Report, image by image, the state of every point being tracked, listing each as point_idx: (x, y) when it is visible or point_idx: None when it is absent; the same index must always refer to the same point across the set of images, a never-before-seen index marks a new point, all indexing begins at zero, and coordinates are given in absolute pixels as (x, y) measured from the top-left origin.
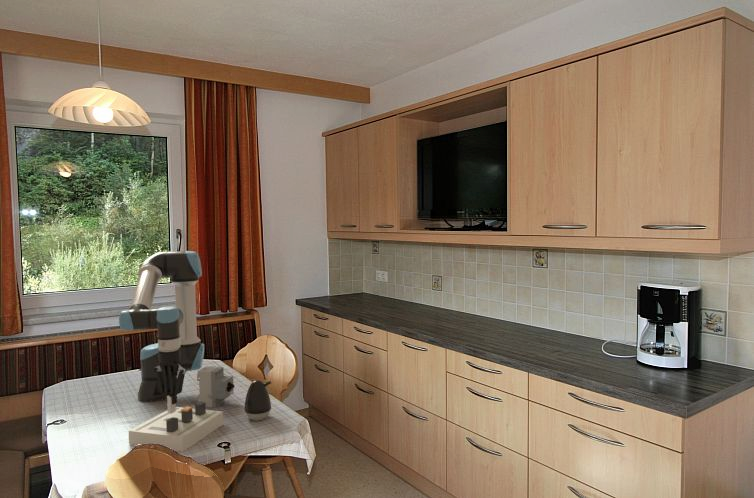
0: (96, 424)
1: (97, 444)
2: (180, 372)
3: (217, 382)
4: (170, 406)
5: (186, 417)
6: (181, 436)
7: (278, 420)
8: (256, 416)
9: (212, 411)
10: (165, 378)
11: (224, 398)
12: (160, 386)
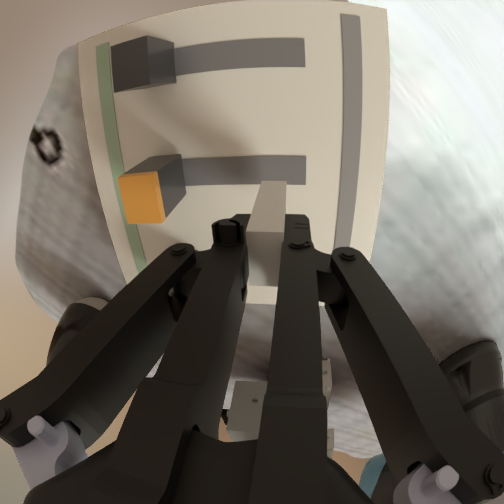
0: None
1: (475, 30)
2: (13, 412)
3: (253, 427)
4: (259, 196)
5: (142, 163)
6: (82, 45)
7: (65, 304)
8: (78, 300)
9: None
10: (291, 381)
11: (237, 382)
12: (371, 290)
